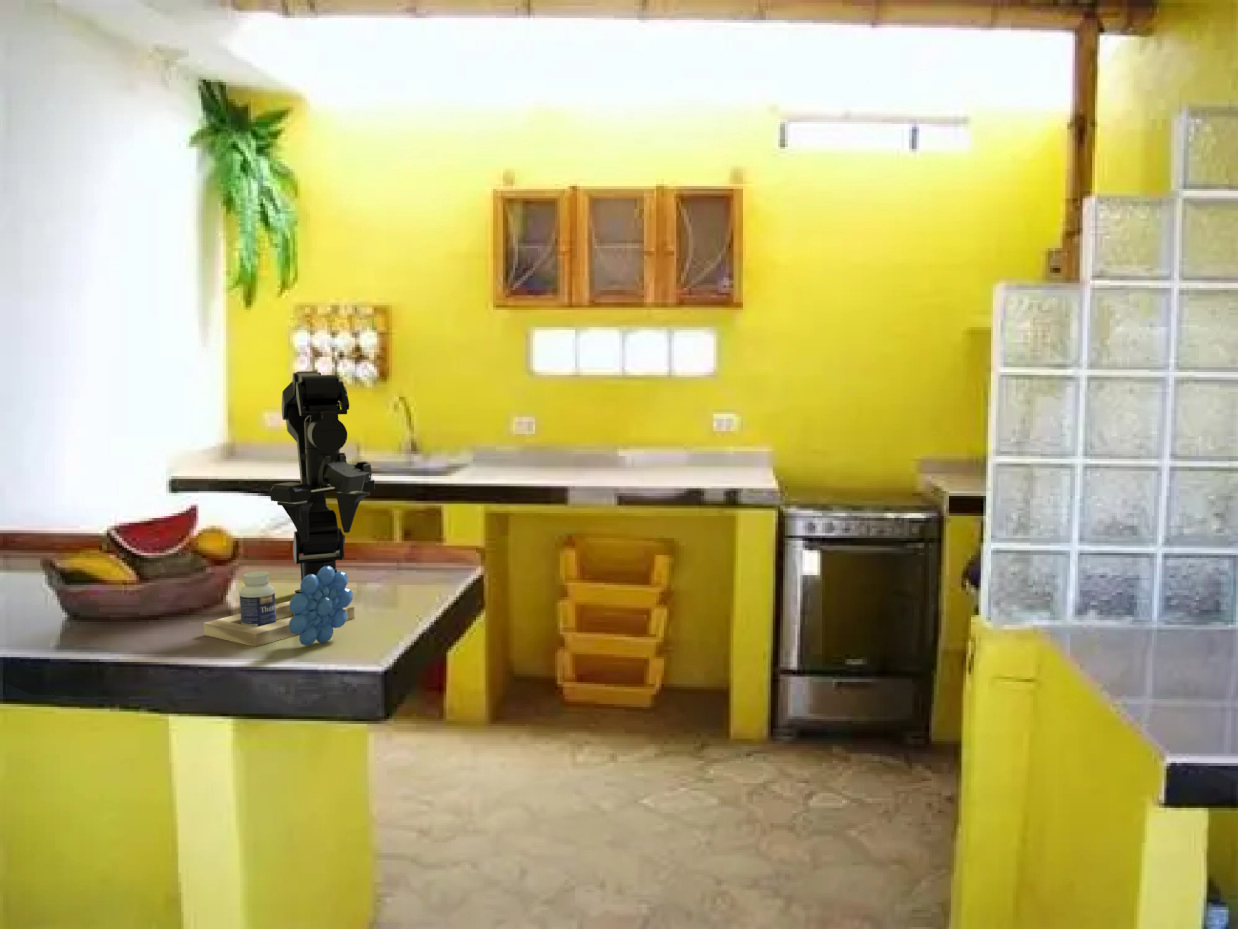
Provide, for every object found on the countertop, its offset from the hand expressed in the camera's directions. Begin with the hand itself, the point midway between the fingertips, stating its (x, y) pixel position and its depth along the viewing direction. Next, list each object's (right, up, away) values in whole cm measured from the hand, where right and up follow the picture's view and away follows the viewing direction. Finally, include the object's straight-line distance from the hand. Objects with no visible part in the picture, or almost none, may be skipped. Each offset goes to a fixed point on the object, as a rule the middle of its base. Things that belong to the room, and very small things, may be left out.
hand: (326, 536), depth 185 cm
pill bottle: (-7, -15, -13) cm, 21 cm away
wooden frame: (-5, -14, -10) cm, 18 cm away
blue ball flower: (+4, -15, -19) cm, 25 cm away
